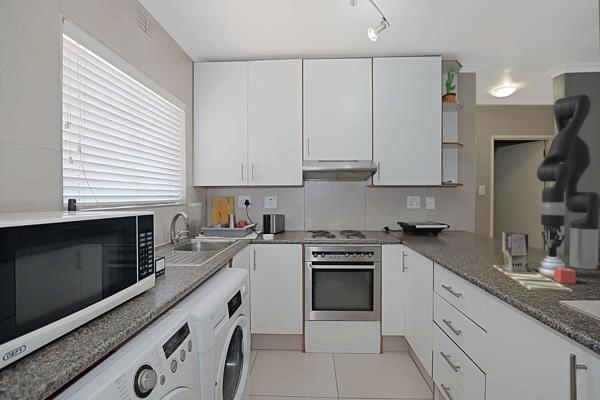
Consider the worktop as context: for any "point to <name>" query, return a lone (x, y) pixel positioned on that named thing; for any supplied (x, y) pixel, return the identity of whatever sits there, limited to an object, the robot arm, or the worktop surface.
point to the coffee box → (515, 251)
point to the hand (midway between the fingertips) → (552, 256)
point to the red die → (564, 275)
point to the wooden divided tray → (534, 280)
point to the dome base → (546, 271)
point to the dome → (552, 263)
